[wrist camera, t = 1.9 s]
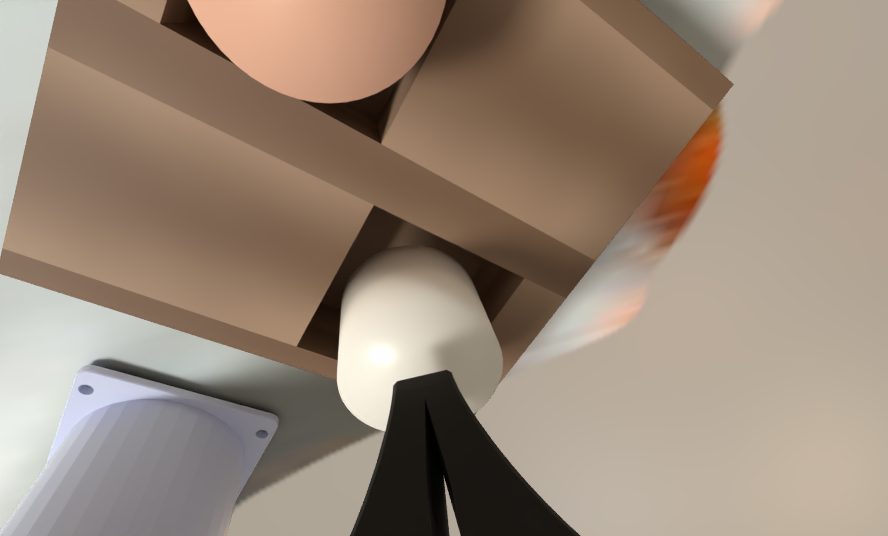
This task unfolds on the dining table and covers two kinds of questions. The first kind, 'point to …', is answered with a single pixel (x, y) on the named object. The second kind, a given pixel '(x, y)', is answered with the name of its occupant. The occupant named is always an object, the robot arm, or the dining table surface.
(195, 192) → the wooden egg crate
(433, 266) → the knob cream
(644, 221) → the dining table surface
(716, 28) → the dining table surface
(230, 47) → the peach egg
